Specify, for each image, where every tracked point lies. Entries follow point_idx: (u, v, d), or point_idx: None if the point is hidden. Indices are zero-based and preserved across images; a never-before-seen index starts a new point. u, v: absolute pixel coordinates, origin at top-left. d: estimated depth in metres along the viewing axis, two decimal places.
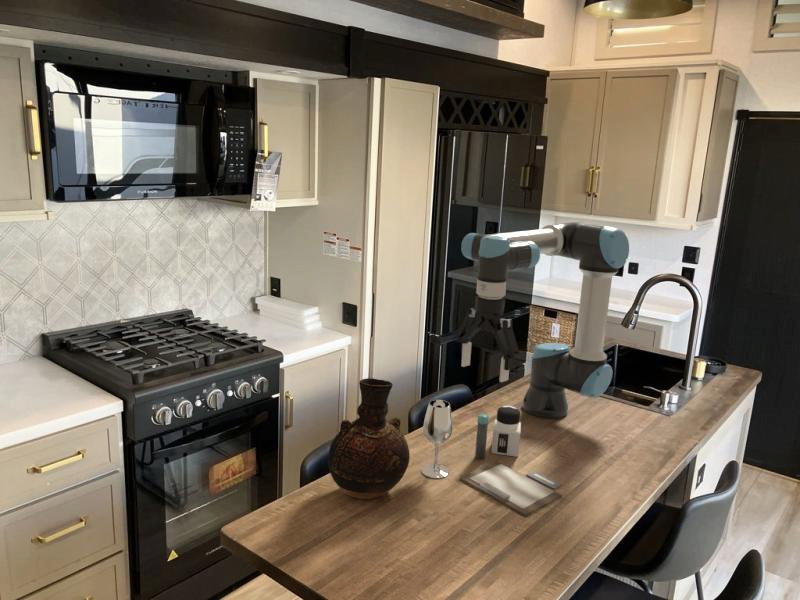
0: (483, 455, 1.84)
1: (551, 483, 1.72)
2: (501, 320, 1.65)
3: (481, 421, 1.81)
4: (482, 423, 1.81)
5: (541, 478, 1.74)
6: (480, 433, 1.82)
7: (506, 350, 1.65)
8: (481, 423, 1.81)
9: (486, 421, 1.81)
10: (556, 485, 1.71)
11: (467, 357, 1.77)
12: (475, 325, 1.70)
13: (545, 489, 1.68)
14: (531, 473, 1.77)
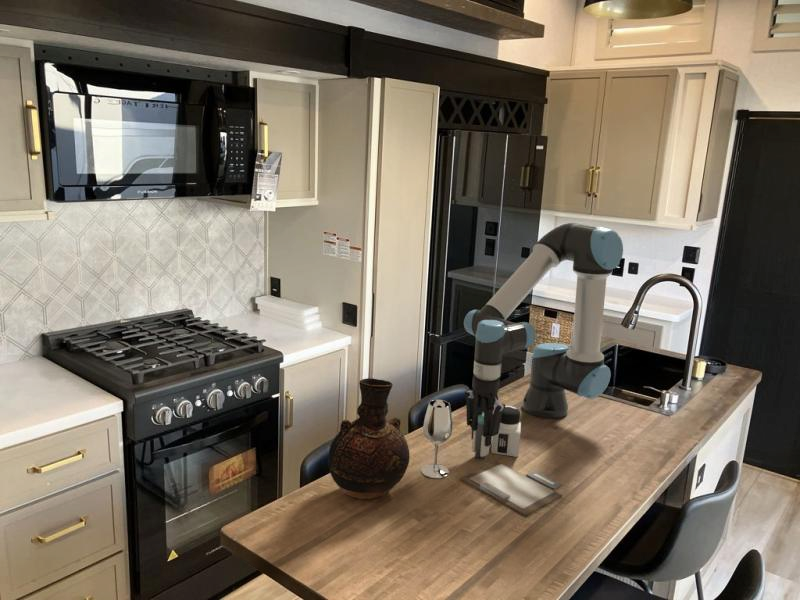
0: None
1: (551, 483, 1.72)
2: (496, 402, 1.77)
3: (481, 421, 1.81)
4: (482, 423, 1.81)
5: (541, 478, 1.74)
6: (480, 433, 1.82)
7: (488, 429, 1.80)
8: (481, 423, 1.81)
9: None
10: (556, 485, 1.71)
11: None
12: (476, 405, 1.81)
13: (545, 489, 1.68)
14: (531, 473, 1.77)
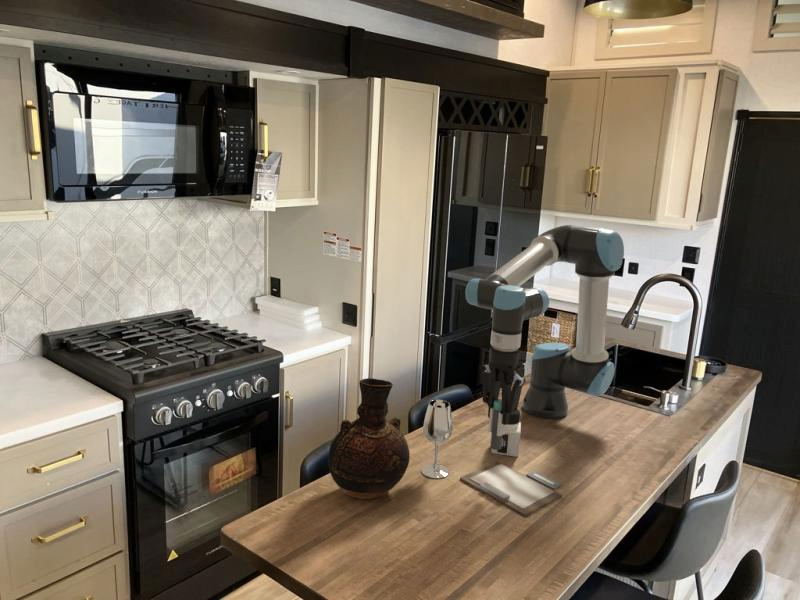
0: (499, 444, 1.69)
1: (551, 483, 1.72)
2: (515, 376, 1.61)
3: (498, 407, 1.66)
4: (499, 409, 1.66)
5: (541, 478, 1.74)
6: (497, 420, 1.67)
7: (506, 406, 1.64)
8: (498, 409, 1.66)
9: None
10: (556, 485, 1.71)
11: None
12: (493, 379, 1.65)
13: (545, 489, 1.68)
14: (531, 473, 1.77)
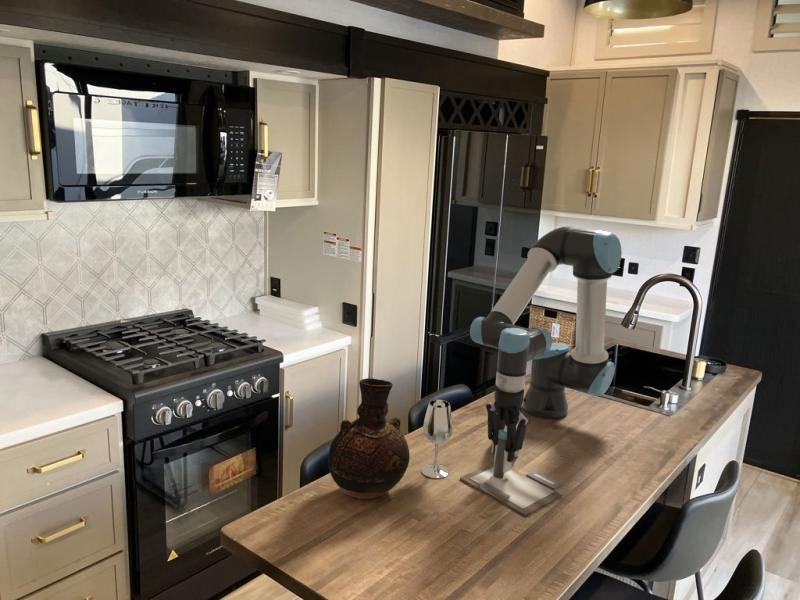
0: None
1: (551, 483, 1.72)
2: (520, 416, 1.66)
3: (503, 436, 1.70)
4: (504, 438, 1.70)
5: (541, 478, 1.74)
6: (501, 449, 1.71)
7: (511, 444, 1.70)
8: (503, 438, 1.70)
9: None
10: (556, 485, 1.71)
11: None
12: (498, 418, 1.71)
13: (545, 489, 1.68)
14: (531, 473, 1.77)
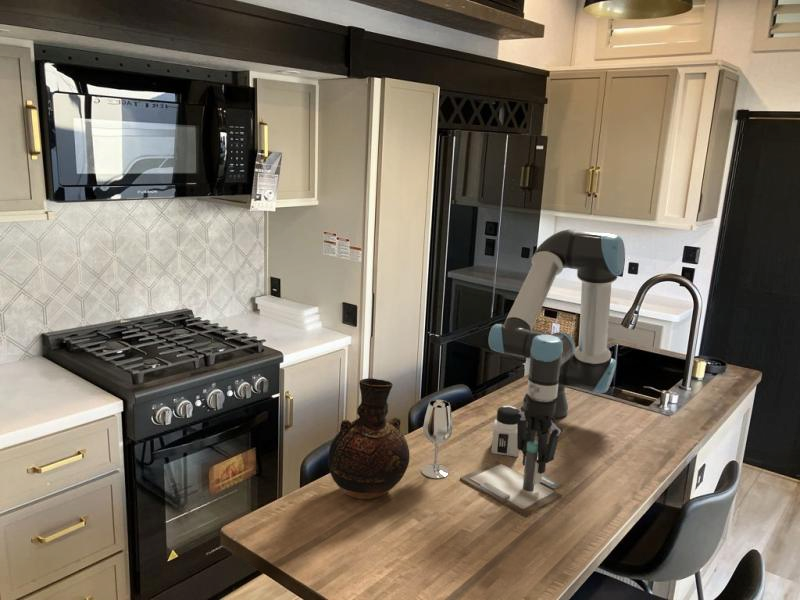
0: None
1: (551, 483, 1.72)
2: (552, 426, 1.61)
3: (534, 449, 1.64)
4: (535, 451, 1.64)
5: None
6: (532, 462, 1.65)
7: (542, 455, 1.64)
8: (533, 451, 1.64)
9: None
10: (556, 485, 1.71)
11: None
12: (529, 428, 1.65)
13: (545, 489, 1.68)
14: None
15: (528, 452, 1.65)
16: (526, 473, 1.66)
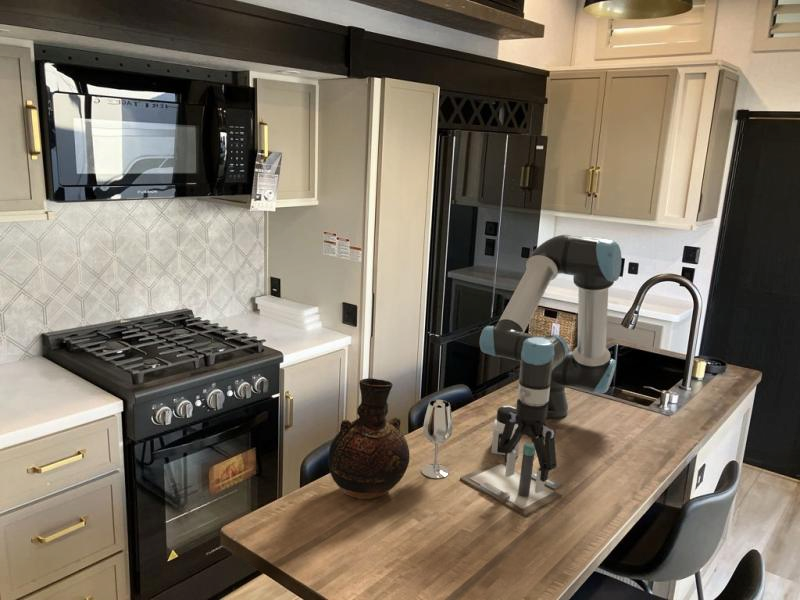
0: (529, 490, 1.64)
1: (551, 483, 1.72)
2: (544, 429, 1.57)
3: (530, 452, 1.62)
4: (531, 454, 1.62)
5: None
6: (528, 466, 1.63)
7: (544, 461, 1.58)
8: (530, 454, 1.62)
9: (534, 451, 1.63)
10: (556, 485, 1.71)
11: (511, 467, 1.67)
12: (517, 431, 1.62)
13: (545, 489, 1.68)
14: None
15: (524, 455, 1.63)
16: (522, 477, 1.64)
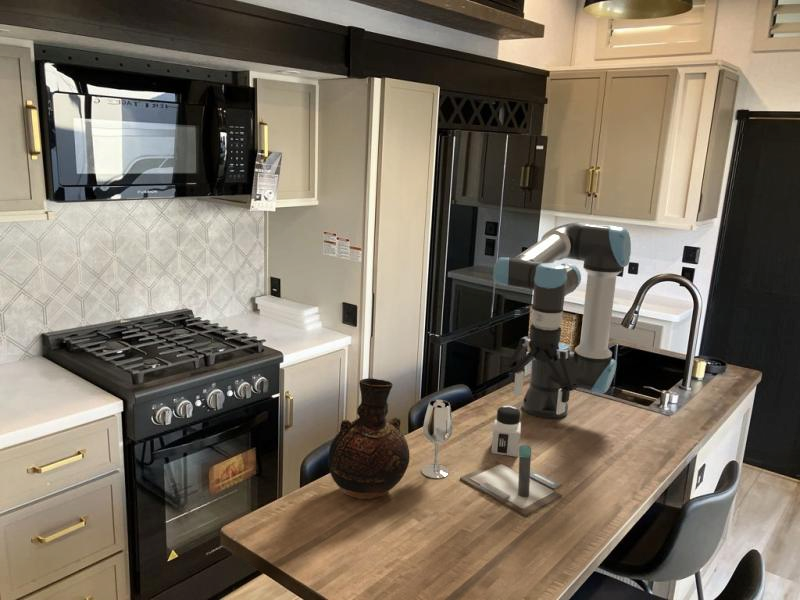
0: (528, 490, 1.64)
1: (551, 483, 1.72)
2: (558, 351, 1.59)
3: (526, 454, 1.61)
4: (527, 456, 1.61)
5: (541, 478, 1.74)
6: (525, 468, 1.62)
7: (564, 382, 1.59)
8: (526, 456, 1.61)
9: (530, 453, 1.62)
10: (556, 485, 1.71)
11: (519, 386, 1.71)
12: (529, 355, 1.65)
13: (545, 489, 1.68)
14: (531, 473, 1.77)
15: (520, 457, 1.62)
16: (520, 479, 1.64)
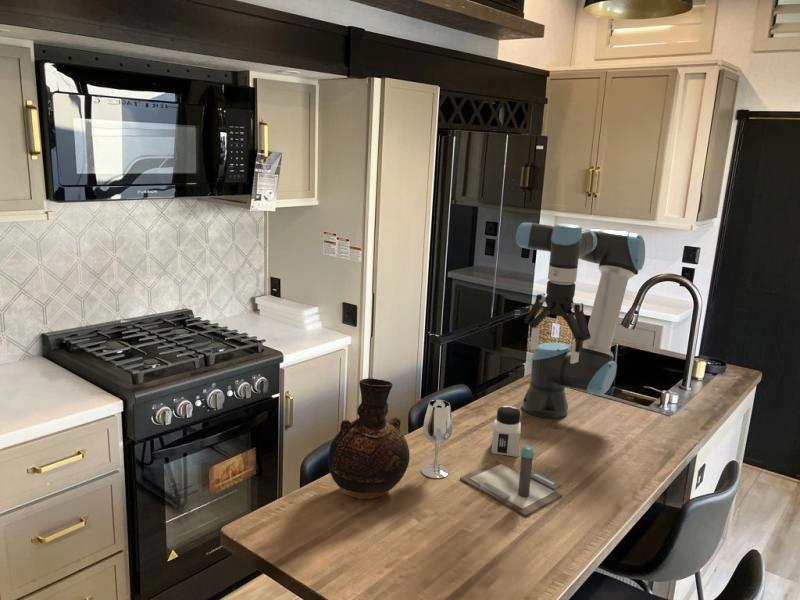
0: (529, 490, 1.64)
1: (551, 483, 1.72)
2: (573, 304, 1.73)
3: (528, 455, 1.61)
4: (529, 457, 1.61)
5: (541, 478, 1.74)
6: (527, 468, 1.62)
7: (577, 333, 1.73)
8: (528, 457, 1.61)
9: (532, 453, 1.62)
10: (556, 485, 1.71)
11: (535, 341, 1.85)
12: (546, 310, 1.78)
13: (545, 489, 1.68)
14: (531, 473, 1.77)
15: (522, 457, 1.62)
16: (521, 479, 1.63)
